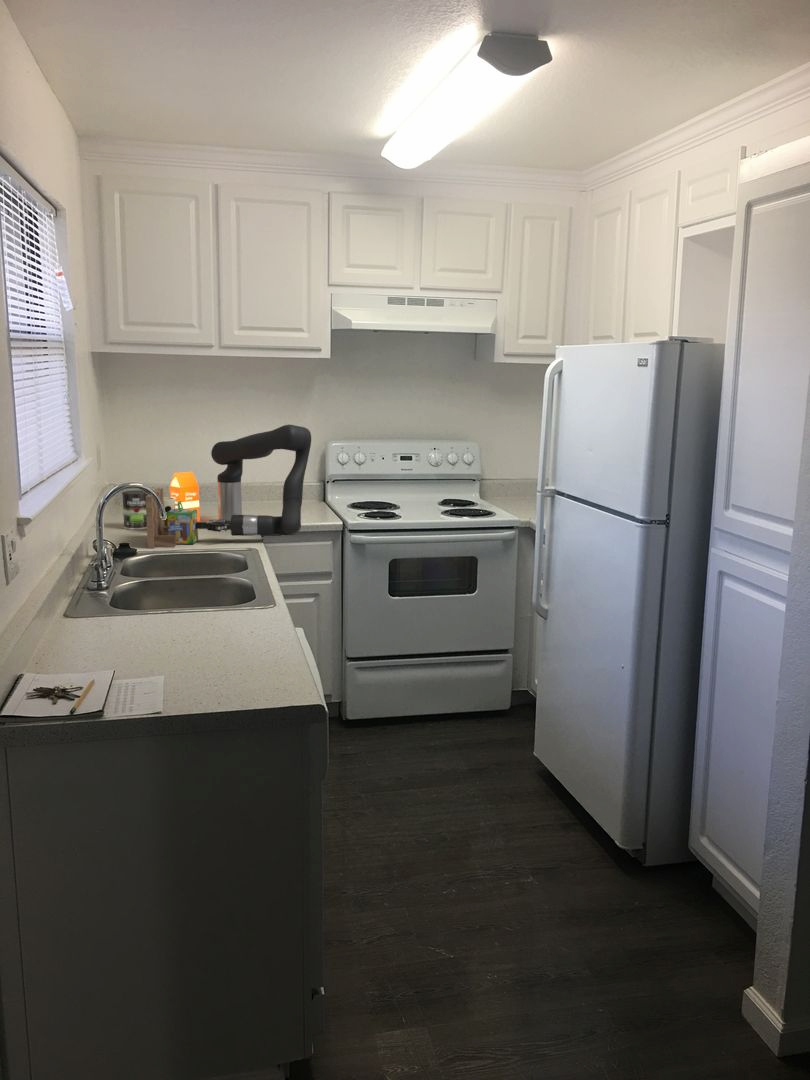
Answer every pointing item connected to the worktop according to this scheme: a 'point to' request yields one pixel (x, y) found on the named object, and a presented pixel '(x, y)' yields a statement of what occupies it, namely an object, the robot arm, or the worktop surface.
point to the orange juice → (185, 491)
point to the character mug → (169, 505)
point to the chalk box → (183, 524)
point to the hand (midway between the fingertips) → (195, 525)
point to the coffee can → (134, 510)
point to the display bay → (157, 524)
